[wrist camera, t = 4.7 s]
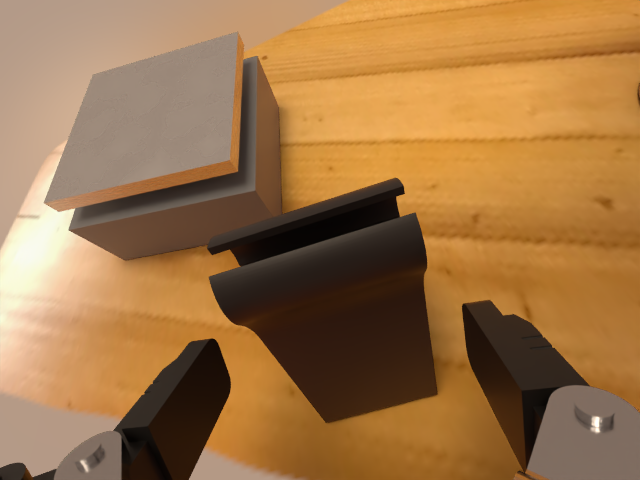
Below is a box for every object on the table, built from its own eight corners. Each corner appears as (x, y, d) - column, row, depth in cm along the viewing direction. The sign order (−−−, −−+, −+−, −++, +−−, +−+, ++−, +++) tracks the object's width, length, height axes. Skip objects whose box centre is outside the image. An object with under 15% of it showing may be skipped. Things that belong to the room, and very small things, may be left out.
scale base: (278, 101, 30) (257, 49, 26) (282, 230, 24) (255, 190, 20) (152, 133, 32) (113, 90, 28) (124, 260, 26) (68, 230, 22)
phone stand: (297, 272, 22) (201, 150, 12) (384, 246, 22) (365, 94, 11) (326, 422, 18) (215, 440, 7) (437, 395, 17) (486, 372, 7)
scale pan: (244, 45, 24) (238, 31, 24) (237, 171, 19) (229, 160, 18) (103, 85, 26) (92, 74, 25) (58, 211, 21) (43, 203, 20)
